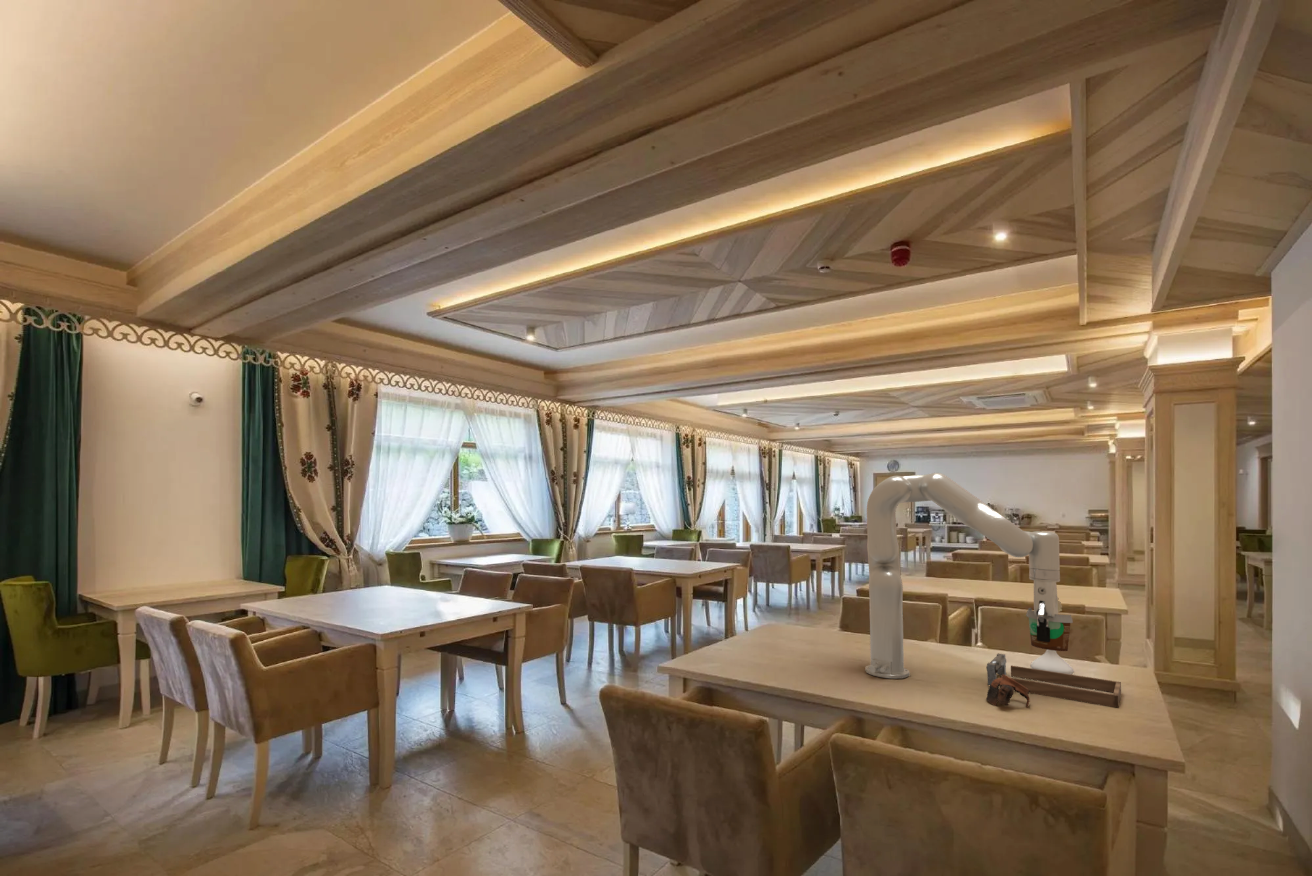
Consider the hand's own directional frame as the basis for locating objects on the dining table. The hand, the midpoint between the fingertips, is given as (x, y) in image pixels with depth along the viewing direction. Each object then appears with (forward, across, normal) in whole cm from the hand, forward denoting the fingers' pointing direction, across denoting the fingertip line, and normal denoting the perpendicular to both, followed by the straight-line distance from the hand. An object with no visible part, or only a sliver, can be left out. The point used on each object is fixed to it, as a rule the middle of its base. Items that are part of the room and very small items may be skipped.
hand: (1045, 638), depth 185 cm
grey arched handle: (+14, +1, +13) cm, 19 cm away
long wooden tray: (+14, 0, -3) cm, 14 cm away
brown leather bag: (+14, -23, +6) cm, 28 cm away
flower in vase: (+14, +19, +1) cm, 24 cm away
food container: (+3, -1, 0) cm, 3 cm away
